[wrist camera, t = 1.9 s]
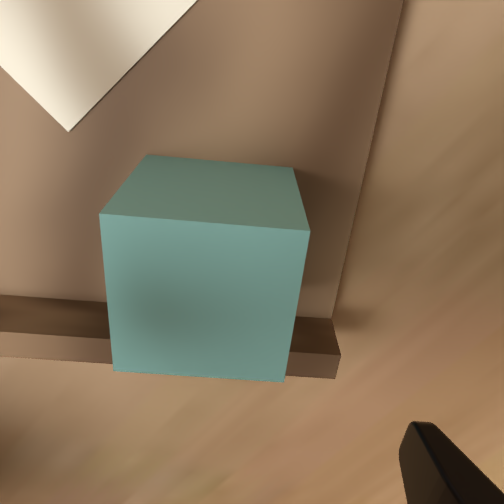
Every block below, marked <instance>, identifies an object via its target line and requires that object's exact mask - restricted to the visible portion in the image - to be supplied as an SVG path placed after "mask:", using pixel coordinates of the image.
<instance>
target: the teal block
mask: <svg viewBox="0 0 504 504" xmlns="http://www.w3.org/2000/svg"><path fill="white" fill-rule="evenodd" d="M99 219H100V230H101V241H102V252H103V263H104V273H105V284H106V295H107V306H108V317H109V328H110V339H111V350H112V361H113V371H120V372H135V373H150V374H165V375H180V376H195V377H210V378H226V379H241V380H256V381H271V382H284V379H285V373H286V367H287V362H288V356H289V350H290V344H291V339H292V333H293V327H294V322H295V316H296V310H297V305H298V299H299V293H300V287H301V282H302V276H303V270H304V265H305V259H306V253H307V248H308V242H309V236H310V228H309V224H308V221H307V217H306V214H305V210H304V206H303V203H302V199H301V196H300V192H299V189H298V185H297V181H296V178H295V174H294V171H293V168H292V167H281V166H269V165H258V164H247V163H236V162H224V161H213V160H202V159H191V158H180V157H168V156H157V155H146V156H145V157H144V158H143V159H142V161H141V162H140V163H139V164H138V166H137V167H136V168H135V169H134V171H133V172H132V173H131V174H130V176H129V177H128V178H127V179H126V181H125V182H124V183H123V184H122V186H121V187H120V188H119V189H118V190H117V192H116V193H115V194H114V195H113V197H112V198H111V199H110V200H109V202H108V203H107V204H106V205H105V207H104V208H103V209H102V210H101V212H100V213H99Z"/></svg>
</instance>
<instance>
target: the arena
mask: <svg viewBox="0 0 504 504" xmlns="http://www.w3.org/2000/svg"><path fill="white" fill-rule="evenodd" d="M403 1H404V0H0V356H2V357H16V358H31V359H46V360H61V361H76V362H91V363H106V364H113V361H112V350H111V339H110V328H109V317H108V306H107V295H106V284H105V273H104V263H103V252H102V241H101V230H100V219H99V213H100V212H101V210H102V209H103V208H104V207H105V205H106V204H107V203H108V202H109V200H110V199H111V198H112V197H113V195H114V194H115V193H116V192H117V190H118V189H119V188H120V187H121V186H122V184H123V183H124V182H125V181H126V179H127V178H128V177H129V176H130V174H131V173H132V172H133V171H134V169H135V168H136V167H137V166H138V164H139V163H140V162H141V161H142V159H143V158H144V157H145V156H146V155H157V156H168V157H180V158H191V159H202V160H213V161H224V162H236V163H247V164H258V165H269V166H281V167H292V168H293V171H294V174H295V178H296V181H297V185H298V189H299V192H300V196H301V199H302V203H303V206H304V210H305V214H306V217H307V221H308V224H309V228H310V236H309V242H308V248H307V253H306V259H305V265H304V270H303V276H302V282H301V287H300V293H299V299H298V305H297V310H296V316H295V322H294V327H293V333H292V339H291V344H290V350H289V356H288V362H287V367H286V373H285V376H299V377H314V378H329V379H335V377H336V373H337V369H338V365H339V361H340V357H341V353H340V350H339V346H338V342H337V339H336V335H335V331H334V327H333V324H332V320H331V318H332V313H333V309H334V304H335V300H336V296H337V291H338V287H339V282H340V278H341V274H342V269H343V265H344V260H345V256H346V252H347V247H348V243H349V238H350V234H351V230H352V225H353V221H354V216H355V212H356V208H357V203H358V199H359V194H360V190H361V186H362V181H363V177H364V172H365V168H366V164H367V159H368V155H369V150H370V146H371V142H372V137H373V133H374V128H375V124H376V120H377V115H378V111H379V106H380V102H381V98H382V93H383V89H384V84H385V80H386V76H387V71H388V67H389V62H390V58H391V54H392V49H393V45H394V40H395V36H396V32H397V27H398V23H399V18H400V14H401V10H402V5H403Z"/></svg>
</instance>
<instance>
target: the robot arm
mask: <svg viewBox="0 0 504 504" xmlns="http://www.w3.org/2000/svg"><path fill="white" fill-rule="evenodd" d="M399 462H400V467H401V472H402V478H403V483H404V488H405V493H406V499H407V504H504V493H503V492H502V491H501V490H500V489H499V488H498V487H497V486H496V485H495V484H494V483H493V482H492V481H491V480H490V479H489V478H488V477H487V476H486V475H485V474H484V473H483V472H482V471H481V470H480V469H479V468H478V467H477V466H476V465H475V464H474V463H473V462H472V461H471V460H470V459H469V458H468V457H467V456H466V455H465V454H464V453H463V452H462V451H461V450H460V449H459V448H458V447H457V446H456V445H455V444H454V443H453V442H452V441H451V440H450V439H449V438H448V437H447V436H446V435H445V434H444V433H443V432H442V431H441V430H440V429H439V428H438V427H437V426H436V425H434V424H433V423H431V422H420V421H412V422H411V423H410V424H409V426H408V428H407V430H406V433H405V435H404V438H403V440H402V443H401V445H400V448H399Z"/></svg>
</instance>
